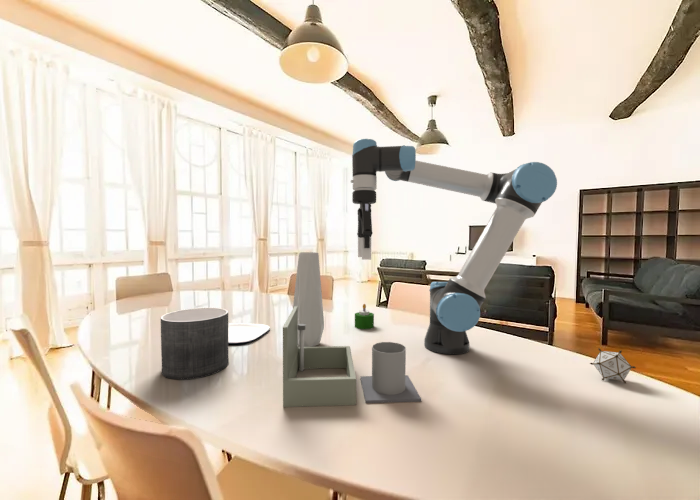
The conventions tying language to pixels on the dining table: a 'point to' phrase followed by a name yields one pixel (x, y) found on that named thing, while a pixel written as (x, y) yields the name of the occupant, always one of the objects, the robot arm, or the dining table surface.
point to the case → (295, 358)
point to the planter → (194, 342)
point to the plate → (245, 332)
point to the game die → (612, 365)
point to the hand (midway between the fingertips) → (364, 258)
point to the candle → (364, 319)
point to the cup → (388, 368)
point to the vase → (309, 298)
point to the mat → (376, 397)
